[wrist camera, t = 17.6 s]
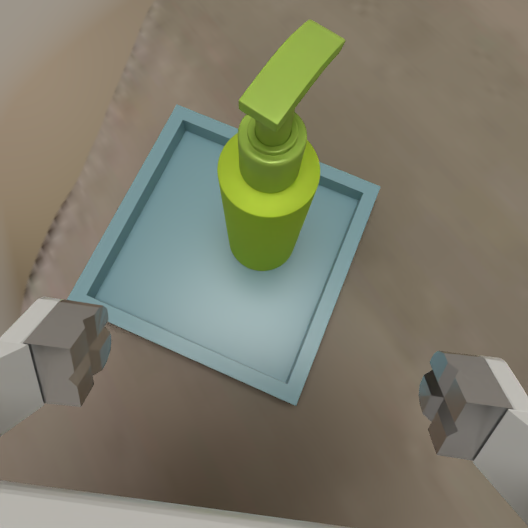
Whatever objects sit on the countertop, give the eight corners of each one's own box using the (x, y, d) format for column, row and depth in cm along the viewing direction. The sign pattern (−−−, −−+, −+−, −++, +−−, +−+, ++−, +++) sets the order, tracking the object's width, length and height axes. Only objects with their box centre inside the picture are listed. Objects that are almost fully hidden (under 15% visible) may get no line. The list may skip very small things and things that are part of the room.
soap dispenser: (313, 222, 35) (390, 54, 16) (270, 284, 34) (298, 179, 14) (260, 188, 36) (272, -15, 17) (215, 246, 35) (172, 99, 15)
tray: (292, 402, 32) (296, 405, 30) (78, 306, 34) (65, 302, 31) (372, 197, 37) (380, 186, 35) (181, 120, 38) (176, 104, 36)
